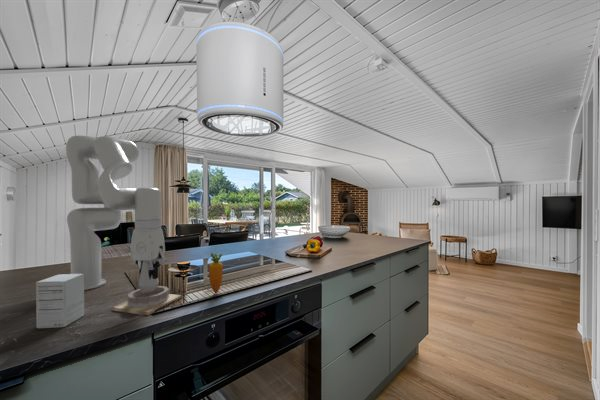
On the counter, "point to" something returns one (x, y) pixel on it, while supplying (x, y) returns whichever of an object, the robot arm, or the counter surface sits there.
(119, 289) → the counter surface
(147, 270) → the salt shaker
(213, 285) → the carrot
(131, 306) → the ring holder
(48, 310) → the supplement box
